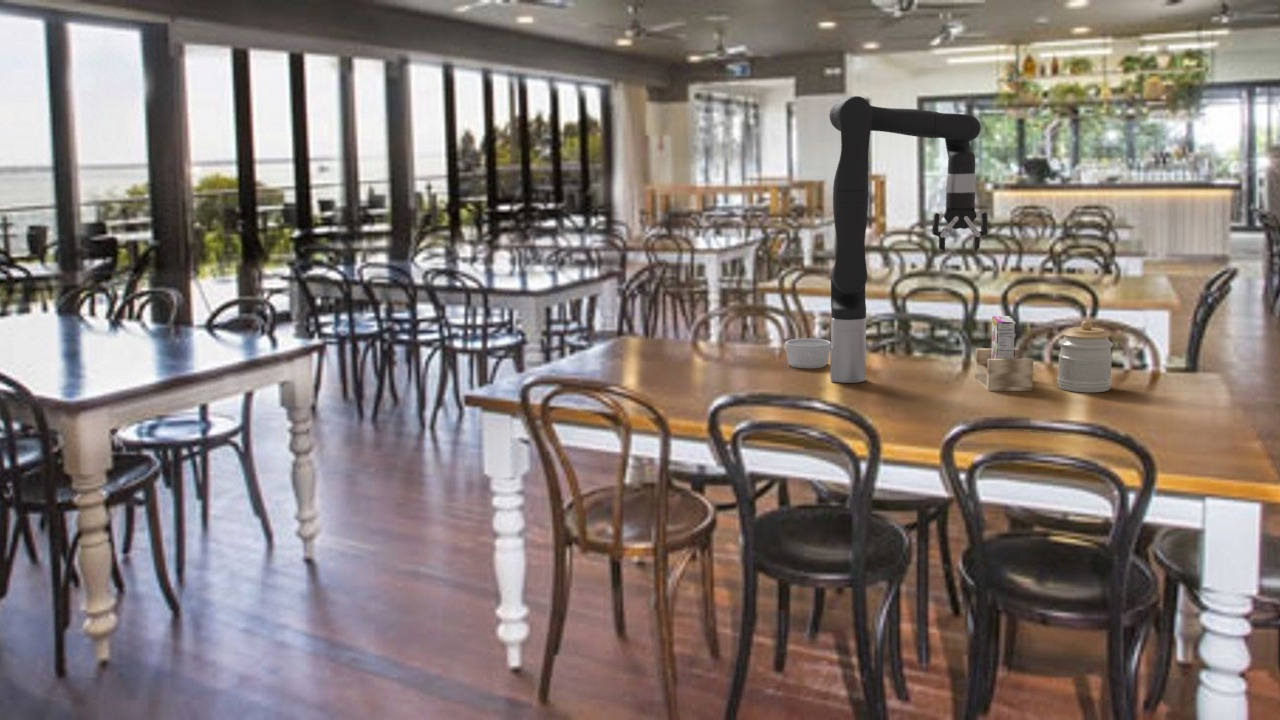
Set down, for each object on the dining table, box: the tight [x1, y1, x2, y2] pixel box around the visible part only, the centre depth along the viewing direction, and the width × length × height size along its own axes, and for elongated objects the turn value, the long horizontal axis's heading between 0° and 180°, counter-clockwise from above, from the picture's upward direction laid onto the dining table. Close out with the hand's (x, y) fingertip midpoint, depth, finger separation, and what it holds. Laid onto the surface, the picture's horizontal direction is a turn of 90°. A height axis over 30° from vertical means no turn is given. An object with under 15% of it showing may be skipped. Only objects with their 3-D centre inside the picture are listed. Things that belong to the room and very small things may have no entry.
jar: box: [1056, 320, 1114, 393], centre depth 293 cm, size 13×13×18 cm
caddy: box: [974, 347, 1034, 392], centre depth 302 cm, size 11×18×8 cm, turn 174°
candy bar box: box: [991, 315, 1017, 359], centre depth 301 cm, size 11×5×16 cm, turn 170°
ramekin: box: [784, 338, 831, 369], centre depth 335 cm, size 13×13×7 cm
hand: (959, 251), depth 310 cm, fingers open, 8 cm apart
